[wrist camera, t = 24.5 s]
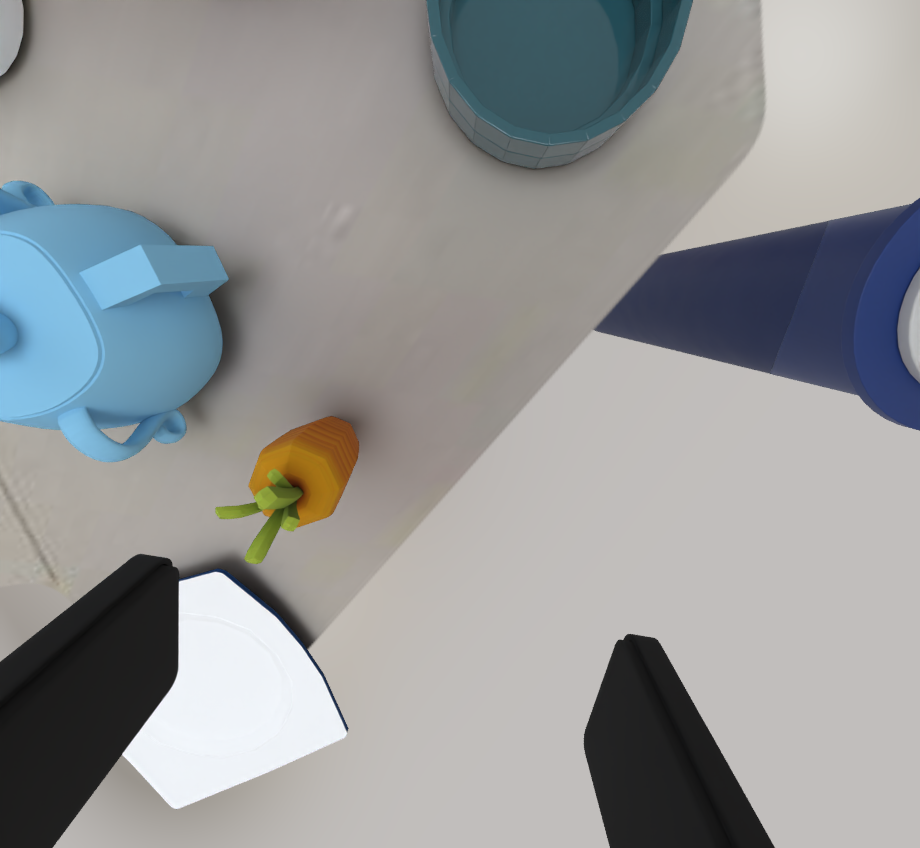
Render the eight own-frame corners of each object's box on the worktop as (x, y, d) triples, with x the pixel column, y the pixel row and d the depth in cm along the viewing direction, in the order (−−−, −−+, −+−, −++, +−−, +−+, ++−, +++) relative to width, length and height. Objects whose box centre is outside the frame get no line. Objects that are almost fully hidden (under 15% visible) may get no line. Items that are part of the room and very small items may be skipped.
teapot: (196, 135, 27) (15, 22, 16) (319, 378, 32) (244, 424, 20) (-64, 263, 29) (-391, 242, 18) (85, 476, 34) (-102, 568, 22)
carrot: (345, 471, 34) (264, 600, 19) (296, 426, 33) (173, 527, 18) (390, 429, 33) (342, 533, 19) (342, 381, 32) (250, 451, 18)
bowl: (680, -63, 25) (733, -147, 20) (615, 189, 29) (647, 168, 24) (452, -121, 24) (452, -224, 19) (415, 146, 28) (407, 114, 23)
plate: (189, 789, 43) (172, 820, 40) (42, 635, 38) (12, 660, 35) (370, 710, 40) (364, 738, 38) (239, 536, 35) (222, 554, 33)
